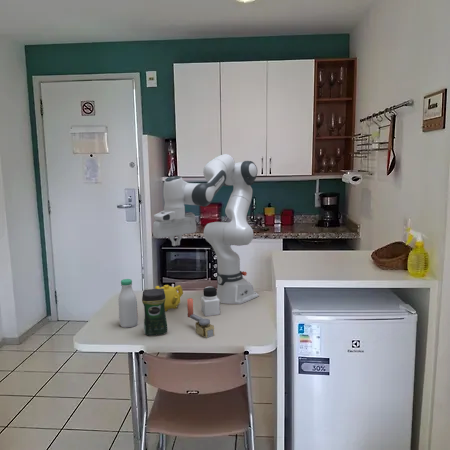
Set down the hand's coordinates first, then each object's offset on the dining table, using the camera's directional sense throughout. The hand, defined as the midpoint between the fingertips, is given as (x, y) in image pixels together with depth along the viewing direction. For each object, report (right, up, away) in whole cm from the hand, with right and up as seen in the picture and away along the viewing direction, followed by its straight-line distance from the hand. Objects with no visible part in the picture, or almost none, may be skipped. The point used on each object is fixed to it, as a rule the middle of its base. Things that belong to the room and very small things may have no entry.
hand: (175, 245), depth 187 cm
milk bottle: (-20, -35, -1) cm, 40 cm away
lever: (+10, -31, -10) cm, 34 cm away
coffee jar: (-7, -36, -10) cm, 38 cm away
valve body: (+13, -35, -12) cm, 40 cm away
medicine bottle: (+15, -32, +10) cm, 37 cm away
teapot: (-6, -31, +18) cm, 36 cm away
